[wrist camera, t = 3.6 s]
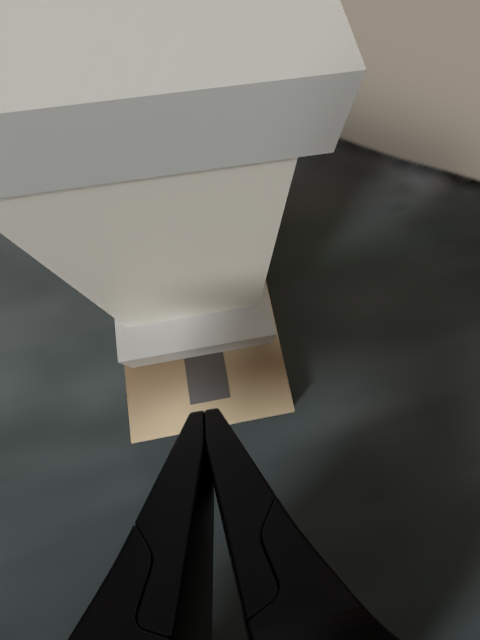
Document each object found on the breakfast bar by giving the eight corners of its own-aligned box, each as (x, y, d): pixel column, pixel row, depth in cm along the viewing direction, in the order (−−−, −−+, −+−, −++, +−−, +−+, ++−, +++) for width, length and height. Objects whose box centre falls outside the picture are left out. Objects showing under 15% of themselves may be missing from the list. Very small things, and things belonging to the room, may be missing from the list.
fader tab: (271, 343, 16) (394, 143, 4) (132, 367, 15) (-233, 229, 3) (252, 254, 17) (299, -106, 5) (123, 275, 17) (-164, -70, 5)
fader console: (293, 410, 17) (299, 410, 15) (136, 441, 16) (126, 444, 15) (235, 147, 21) (235, 127, 20) (110, 164, 21) (100, 144, 19)
